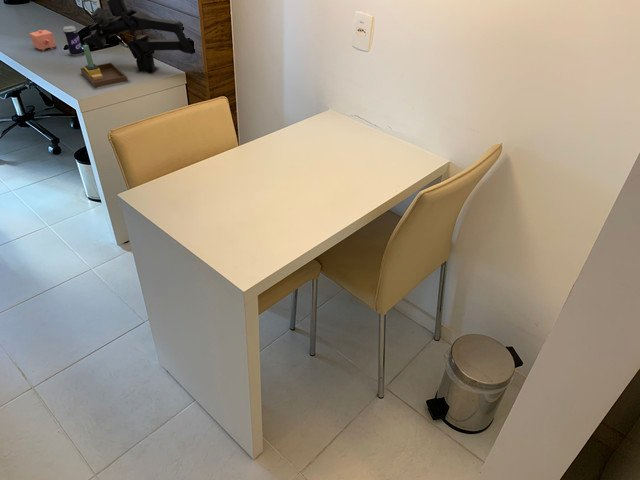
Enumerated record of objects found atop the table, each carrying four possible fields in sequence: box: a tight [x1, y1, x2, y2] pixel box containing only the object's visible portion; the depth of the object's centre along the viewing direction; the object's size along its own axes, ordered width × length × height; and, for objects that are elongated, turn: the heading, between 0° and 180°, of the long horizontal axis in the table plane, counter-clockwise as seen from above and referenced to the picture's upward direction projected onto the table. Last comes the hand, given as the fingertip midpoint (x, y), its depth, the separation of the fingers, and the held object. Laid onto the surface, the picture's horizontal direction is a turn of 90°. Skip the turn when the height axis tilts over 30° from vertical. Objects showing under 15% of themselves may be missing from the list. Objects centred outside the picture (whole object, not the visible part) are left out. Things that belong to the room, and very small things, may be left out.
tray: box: [80, 62, 128, 88], centre depth 205 cm, size 19×13×3 cm
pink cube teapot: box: [29, 29, 57, 52], centre depth 230 cm, size 8×12×8 cm, turn 46°
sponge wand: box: [82, 44, 101, 77], centre depth 204 cm, size 5×6×12 cm
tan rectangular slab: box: [91, 74, 103, 80], centre depth 204 cm, size 4×2×1 cm, turn 126°
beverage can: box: [62, 25, 84, 57], centre depth 224 cm, size 6×6×12 cm
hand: (86, 34), depth 207 cm, fingers open, 9 cm apart
